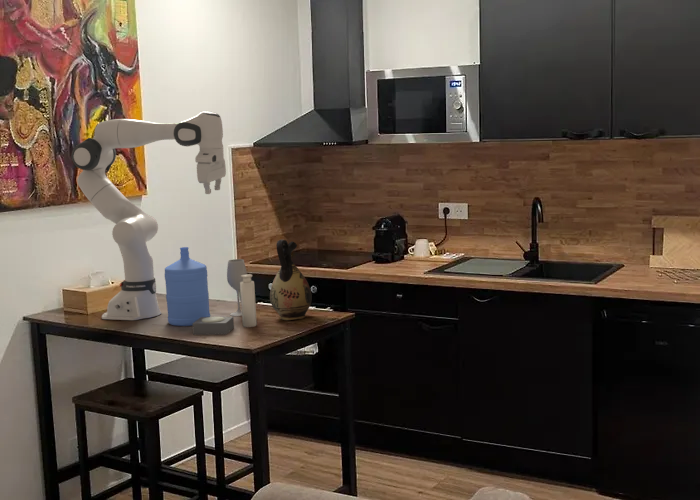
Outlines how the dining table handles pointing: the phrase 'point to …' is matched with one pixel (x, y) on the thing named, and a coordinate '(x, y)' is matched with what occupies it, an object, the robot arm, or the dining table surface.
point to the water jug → (186, 290)
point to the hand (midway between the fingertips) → (212, 191)
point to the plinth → (213, 325)
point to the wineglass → (236, 278)
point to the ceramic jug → (289, 286)
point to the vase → (248, 301)
